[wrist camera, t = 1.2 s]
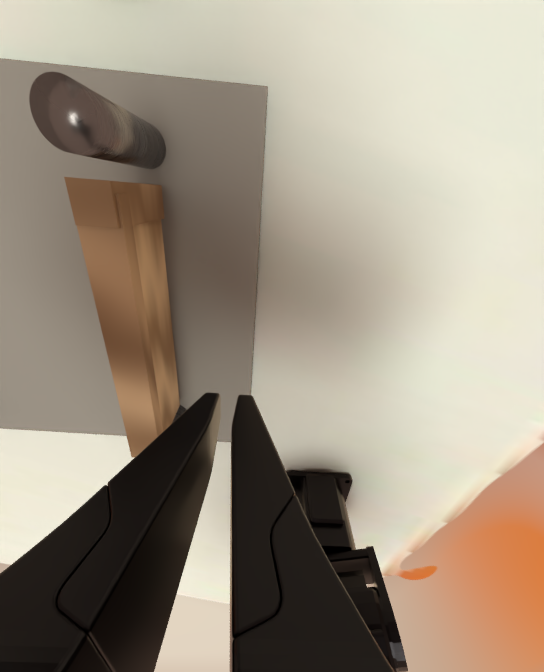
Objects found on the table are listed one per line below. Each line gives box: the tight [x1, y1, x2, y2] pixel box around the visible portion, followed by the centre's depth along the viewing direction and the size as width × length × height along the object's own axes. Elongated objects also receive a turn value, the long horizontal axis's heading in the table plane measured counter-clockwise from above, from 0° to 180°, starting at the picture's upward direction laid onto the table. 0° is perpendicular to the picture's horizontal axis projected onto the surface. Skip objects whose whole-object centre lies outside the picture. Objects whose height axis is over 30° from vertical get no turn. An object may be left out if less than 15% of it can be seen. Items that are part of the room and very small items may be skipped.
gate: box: [64, 177, 180, 457], centre depth 15 cm, size 15×2×5 cm, turn 175°
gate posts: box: [29, 72, 187, 423], centre depth 15 cm, size 20×18×6 cm
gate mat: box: [0, 58, 268, 442], centre depth 18 cm, size 24×22×1 cm
